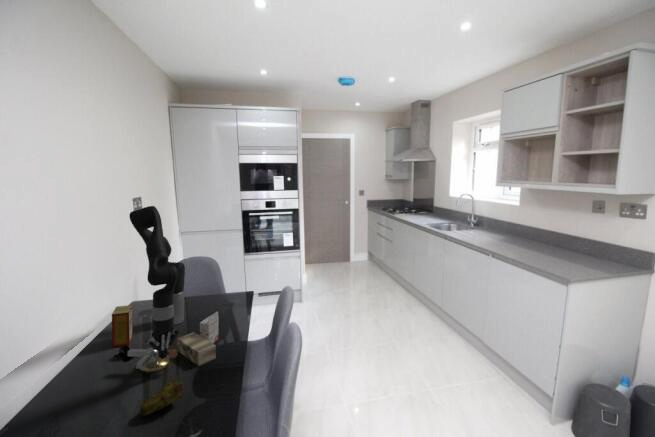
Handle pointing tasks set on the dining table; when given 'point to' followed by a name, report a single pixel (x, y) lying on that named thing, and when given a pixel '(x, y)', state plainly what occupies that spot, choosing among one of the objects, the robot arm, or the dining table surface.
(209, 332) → the ink cartridge box
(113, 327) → the baking soda box
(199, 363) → the cardboard box
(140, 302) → the dining table surface
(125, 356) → the black angular block
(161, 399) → the potato
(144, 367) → the capstan
